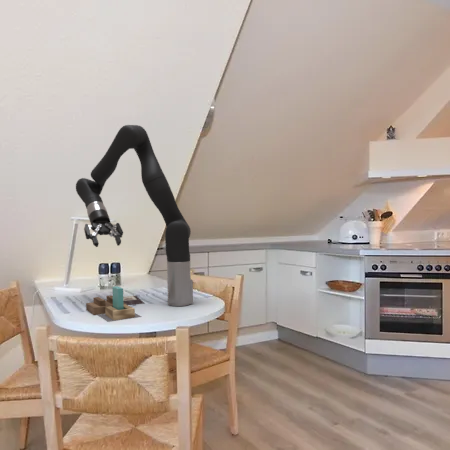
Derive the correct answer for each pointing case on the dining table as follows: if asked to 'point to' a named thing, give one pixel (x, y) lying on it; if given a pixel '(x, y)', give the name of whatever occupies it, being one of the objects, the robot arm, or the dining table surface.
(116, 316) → the rack
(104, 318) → the mat
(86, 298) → the dining table surface
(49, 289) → the dining table surface
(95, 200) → the robot arm
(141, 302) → the chocolate bar
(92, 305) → the brown wooden stand
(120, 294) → the teal rectangular pillar
